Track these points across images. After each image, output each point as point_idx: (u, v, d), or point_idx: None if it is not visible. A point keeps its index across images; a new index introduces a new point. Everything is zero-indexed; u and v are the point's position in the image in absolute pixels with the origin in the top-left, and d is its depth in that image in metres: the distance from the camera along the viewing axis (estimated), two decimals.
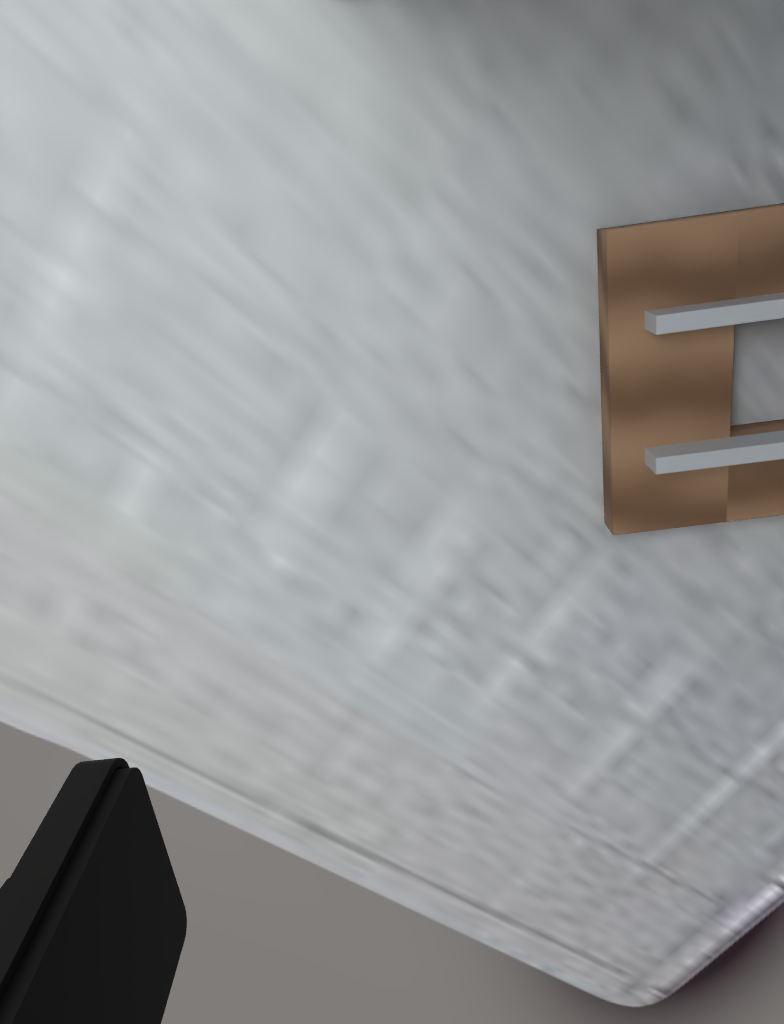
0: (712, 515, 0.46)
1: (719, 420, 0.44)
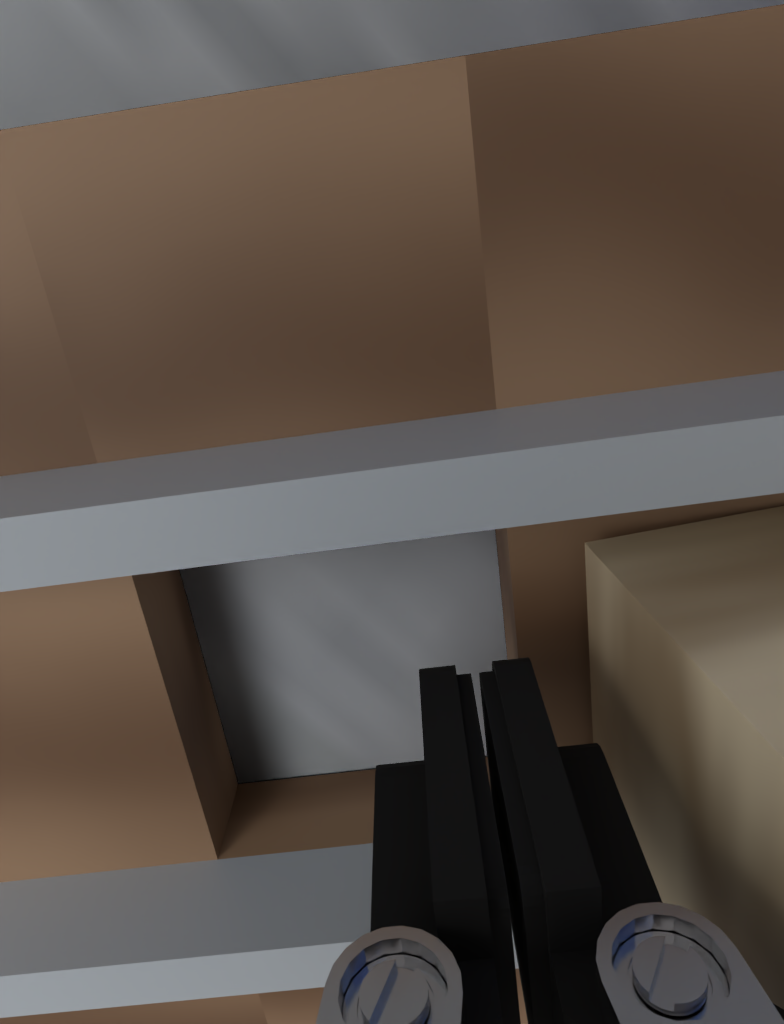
0: None
1: (169, 818, 0.14)
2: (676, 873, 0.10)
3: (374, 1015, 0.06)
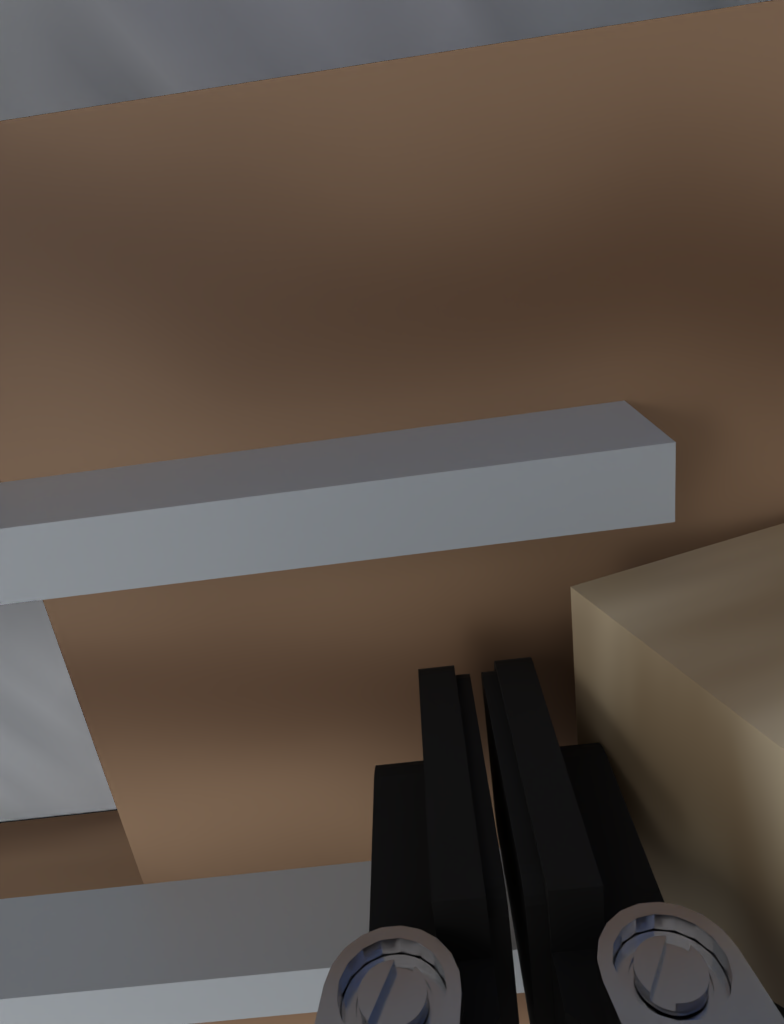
0: None
1: None
2: None
3: (373, 1015, 0.06)
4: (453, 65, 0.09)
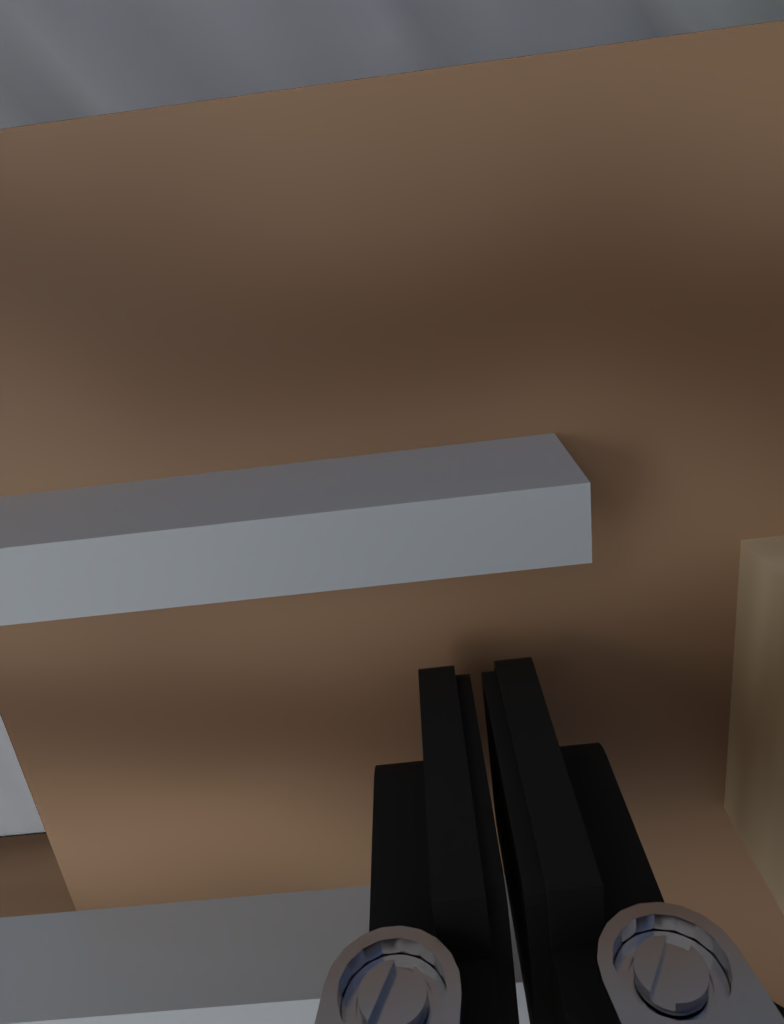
0: None
1: None
2: None
3: (373, 1015, 0.06)
4: (371, 92, 0.09)
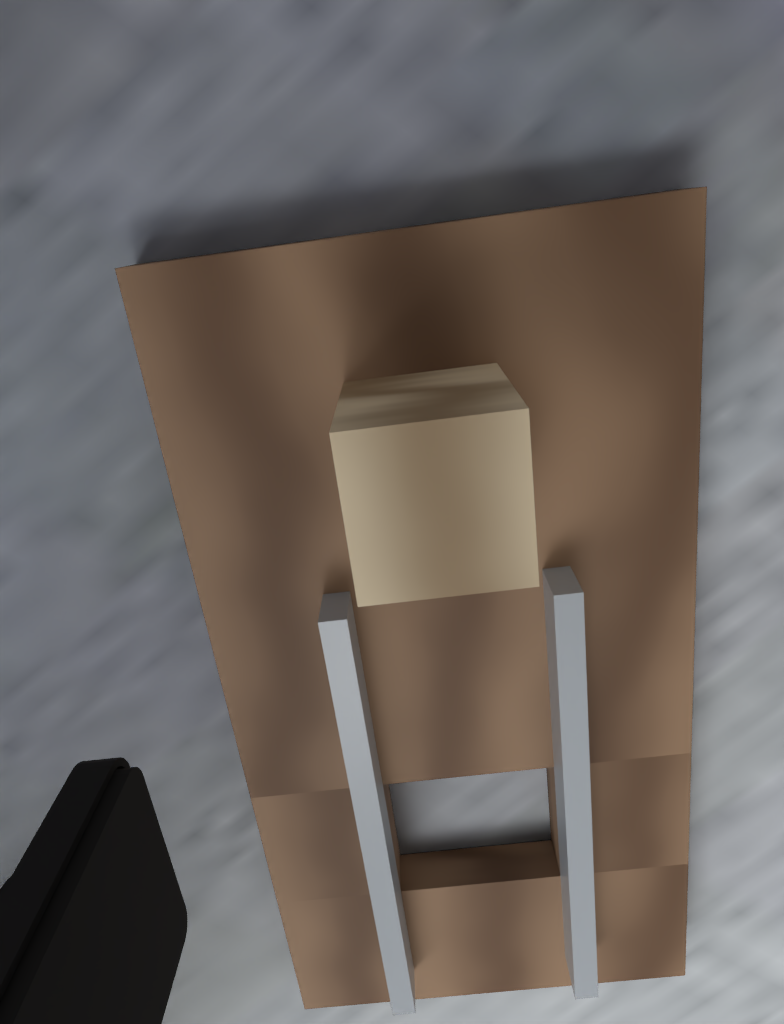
0: (675, 879, 0.32)
1: (535, 889, 0.33)
2: None
3: None
4: (217, 653, 0.28)
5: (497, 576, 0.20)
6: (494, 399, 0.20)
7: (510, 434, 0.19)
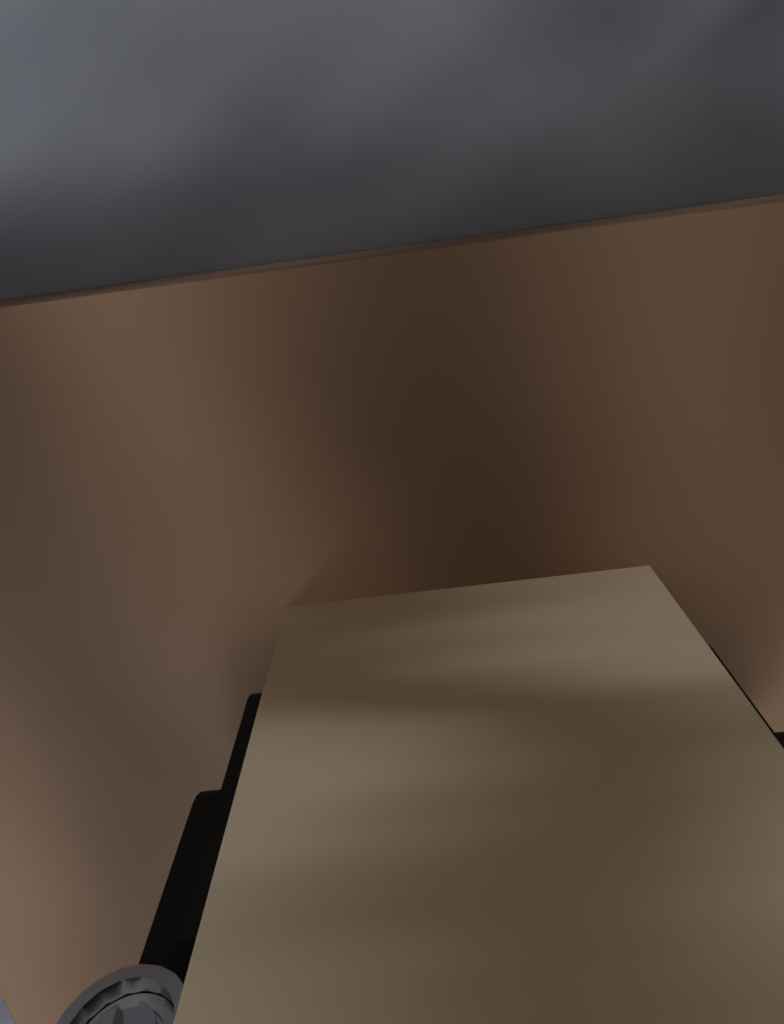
0: None
1: None
2: None
3: None
4: None
5: None
6: (758, 848, 0.06)
7: None
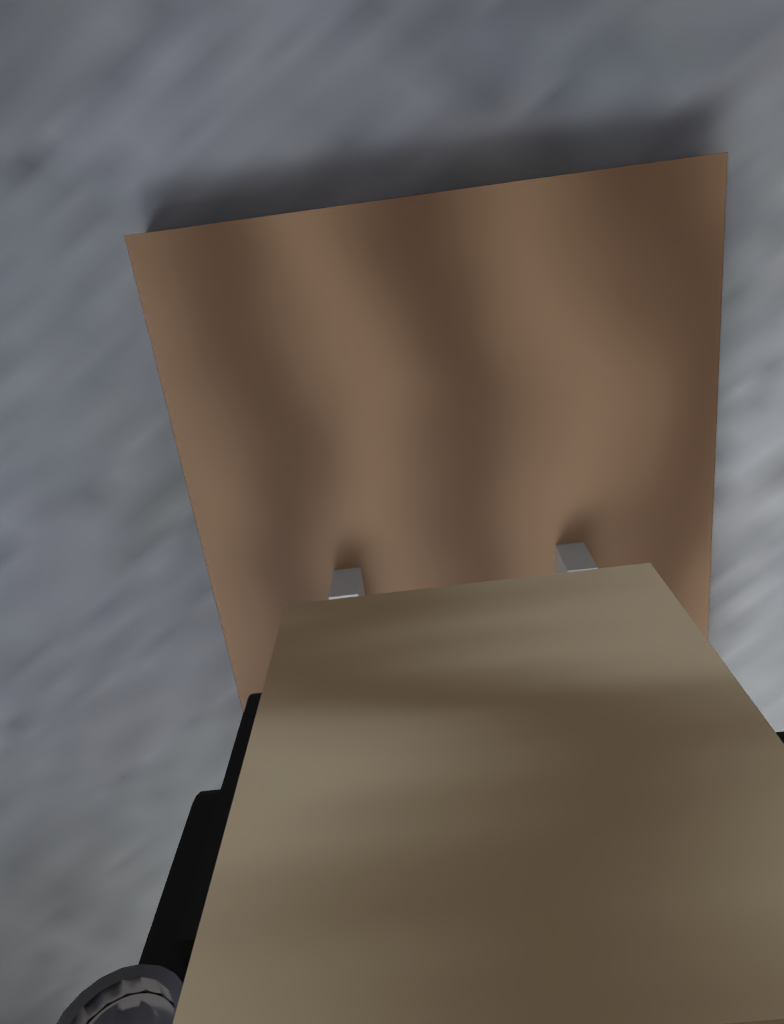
0: None
1: None
2: None
3: None
4: (226, 629, 0.28)
5: None
6: (759, 844, 0.06)
7: None
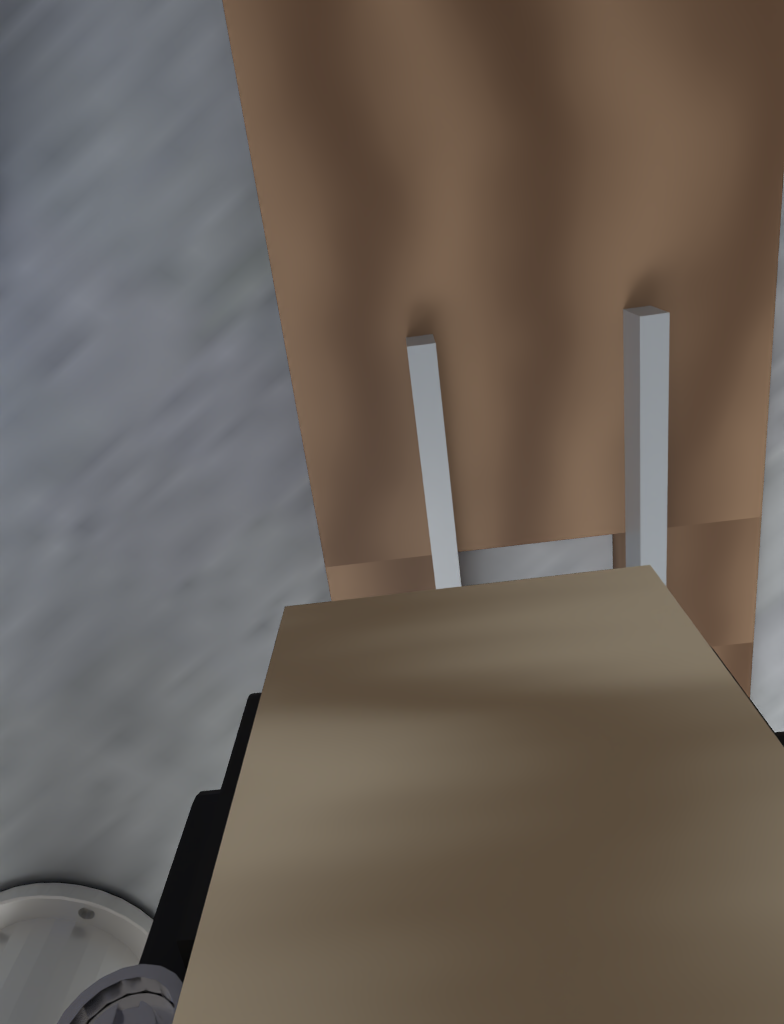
0: (740, 659, 0.33)
1: None
2: None
3: None
4: (299, 403, 0.28)
5: None
6: (760, 849, 0.06)
7: None
